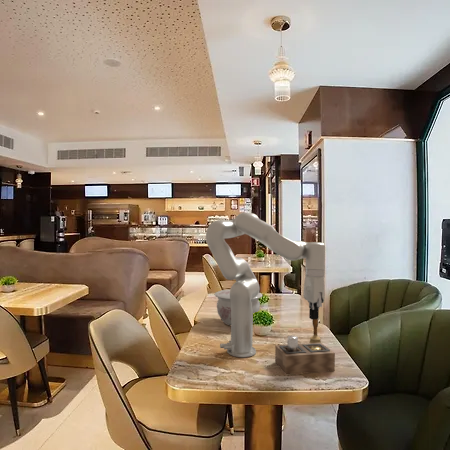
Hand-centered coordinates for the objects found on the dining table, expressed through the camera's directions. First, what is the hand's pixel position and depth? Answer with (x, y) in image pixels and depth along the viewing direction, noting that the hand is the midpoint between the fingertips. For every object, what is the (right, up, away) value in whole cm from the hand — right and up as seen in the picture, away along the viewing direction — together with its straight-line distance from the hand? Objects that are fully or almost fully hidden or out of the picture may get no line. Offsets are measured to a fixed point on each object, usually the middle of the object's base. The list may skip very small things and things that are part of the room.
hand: (313, 318), depth 141 cm
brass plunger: (+1, -19, 0) cm, 19 cm away
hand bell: (+5, -19, +18) cm, 27 cm away
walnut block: (-4, -19, -1) cm, 19 cm away
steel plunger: (-9, -14, -2) cm, 17 cm away
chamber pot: (-28, -18, +59) cm, 68 cm away
